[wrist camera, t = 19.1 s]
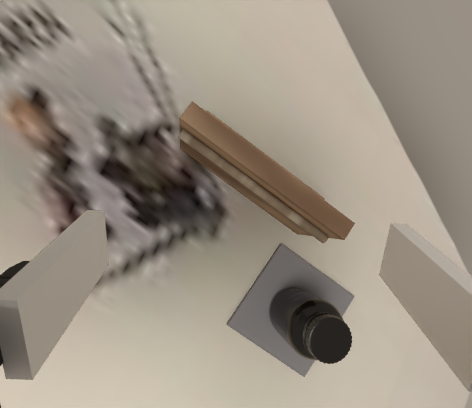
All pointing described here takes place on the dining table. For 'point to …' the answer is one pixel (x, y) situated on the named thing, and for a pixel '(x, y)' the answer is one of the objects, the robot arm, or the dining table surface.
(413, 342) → the dining table surface
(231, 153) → the board
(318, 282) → the rubber mat
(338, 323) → the supplement bottle
